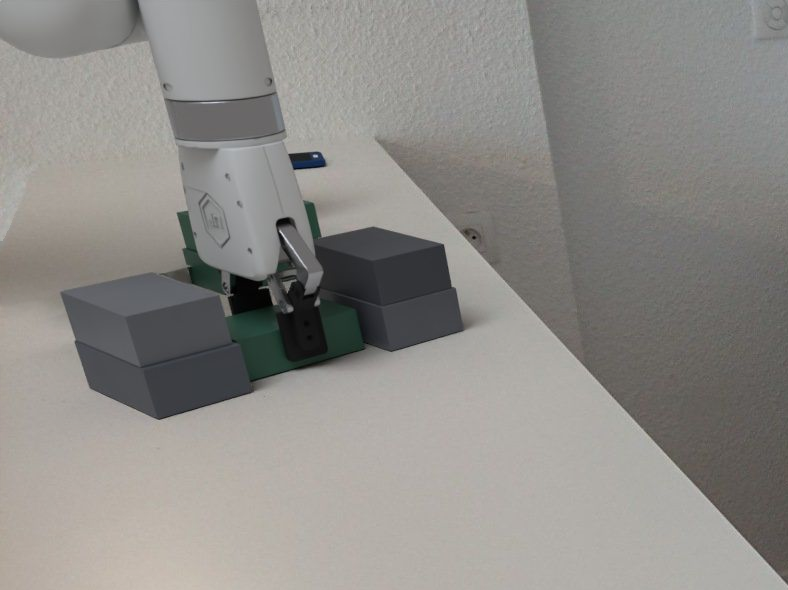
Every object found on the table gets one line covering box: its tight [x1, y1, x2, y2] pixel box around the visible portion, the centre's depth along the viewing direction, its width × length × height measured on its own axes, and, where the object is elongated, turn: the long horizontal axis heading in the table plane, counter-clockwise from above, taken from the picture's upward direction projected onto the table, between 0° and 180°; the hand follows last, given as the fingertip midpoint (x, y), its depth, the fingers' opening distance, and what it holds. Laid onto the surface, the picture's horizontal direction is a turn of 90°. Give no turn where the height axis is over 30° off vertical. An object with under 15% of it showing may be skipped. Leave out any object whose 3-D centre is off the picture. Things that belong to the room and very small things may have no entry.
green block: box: [225, 298, 365, 382], centre depth 104 cm, size 10×6×3 cm, turn 144°
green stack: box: [176, 199, 323, 296], centre depth 124 cm, size 10×7×7 cm, turn 144°
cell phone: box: [288, 151, 326, 169], centre depth 173 cm, size 7×14×1 cm, turn 118°
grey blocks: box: [59, 226, 464, 420], centre depth 103 cm, size 26×11×8 cm, turn 144°
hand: (283, 346), depth 104 cm, fingers closed on green block, 6 cm apart
